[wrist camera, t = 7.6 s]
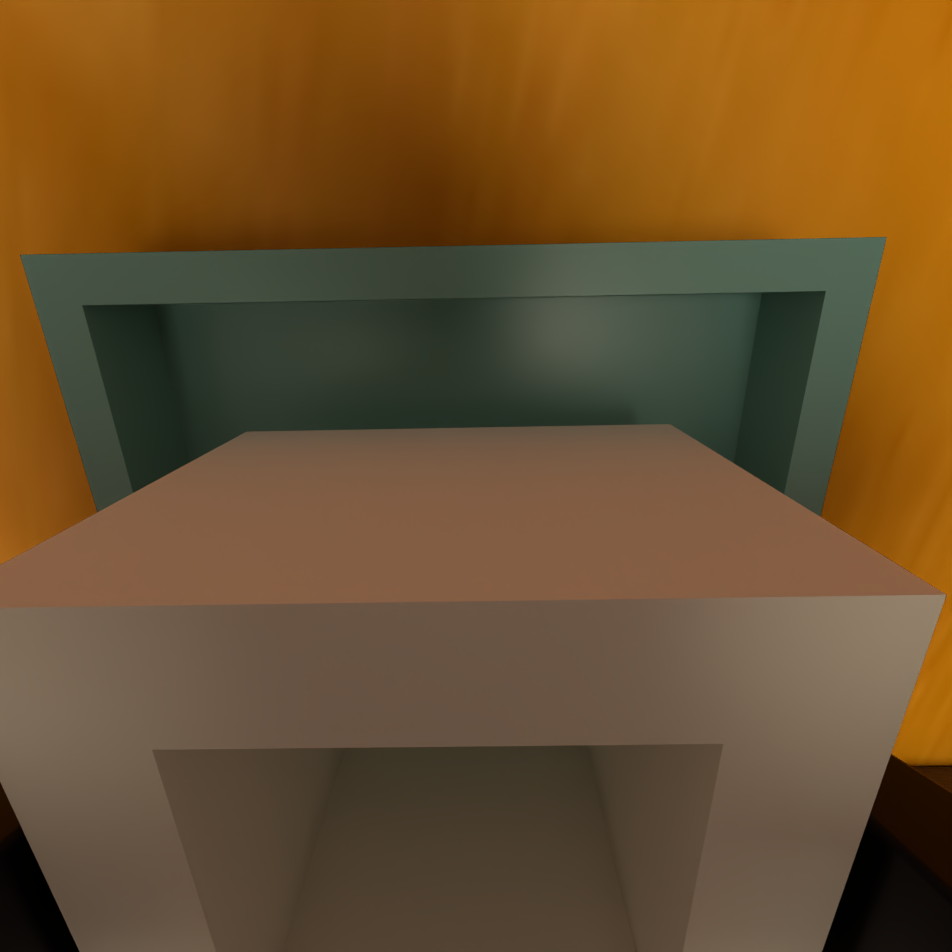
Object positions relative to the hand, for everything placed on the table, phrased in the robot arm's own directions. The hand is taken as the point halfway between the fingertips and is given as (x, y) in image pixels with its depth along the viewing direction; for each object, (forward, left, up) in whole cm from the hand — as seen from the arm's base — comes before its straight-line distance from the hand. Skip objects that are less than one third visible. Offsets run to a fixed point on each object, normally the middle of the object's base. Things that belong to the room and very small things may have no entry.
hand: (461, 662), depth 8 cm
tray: (0, 0, -4) cm, 4 cm away
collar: (0, 0, -2) cm, 2 cm away
